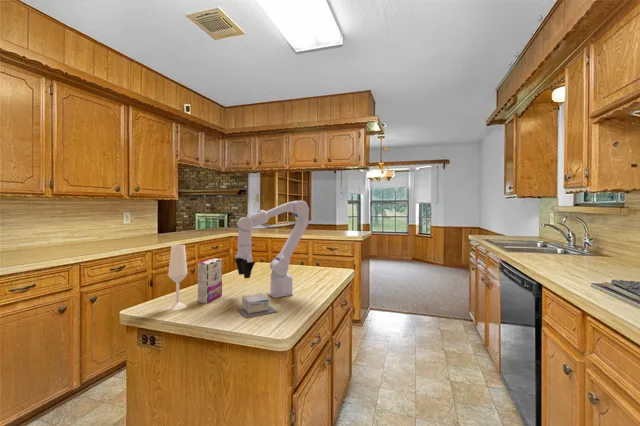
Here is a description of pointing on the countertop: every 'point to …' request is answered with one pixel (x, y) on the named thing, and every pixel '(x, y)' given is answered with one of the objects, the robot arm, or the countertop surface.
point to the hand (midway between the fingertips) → (244, 276)
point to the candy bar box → (209, 280)
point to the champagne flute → (177, 271)
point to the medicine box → (255, 303)
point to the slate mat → (256, 312)
